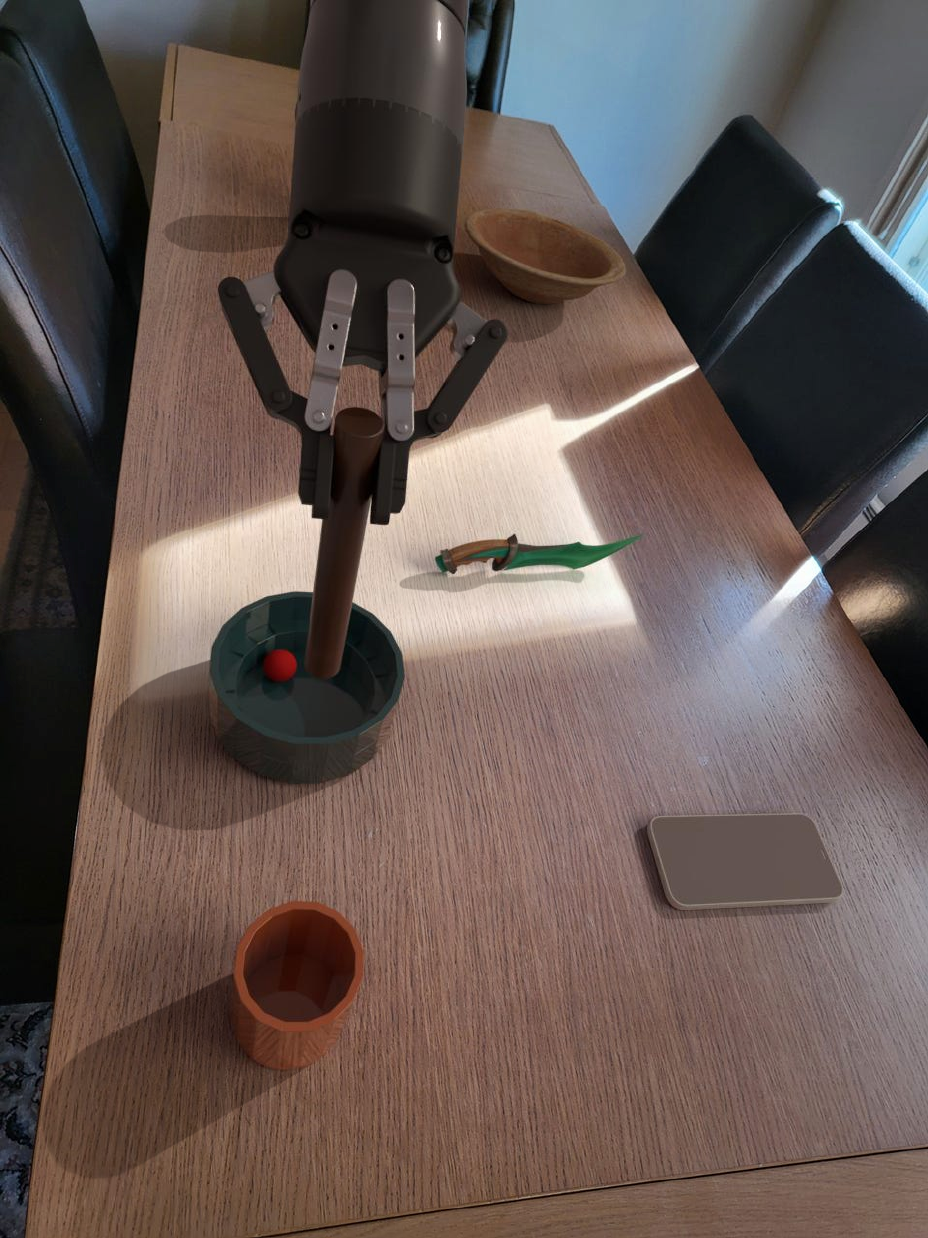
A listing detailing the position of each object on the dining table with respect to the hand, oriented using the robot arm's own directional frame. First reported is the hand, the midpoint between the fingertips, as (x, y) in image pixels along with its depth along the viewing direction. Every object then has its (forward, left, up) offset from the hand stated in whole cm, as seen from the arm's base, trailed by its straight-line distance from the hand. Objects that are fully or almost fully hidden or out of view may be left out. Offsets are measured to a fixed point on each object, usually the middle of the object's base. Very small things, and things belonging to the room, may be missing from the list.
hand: (350, 519), depth 39 cm
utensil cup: (-5, -12, -29) cm, 32 cm away
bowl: (+59, +70, -29) cm, 96 cm away
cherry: (+2, +12, -27) cm, 30 cm away
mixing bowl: (+3, +9, -29) cm, 31 cm away
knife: (+30, +18, -29) cm, 46 cm away
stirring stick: (+1, +2, -14) cm, 14 cm away
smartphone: (+31, -15, -29) cm, 45 cm away
